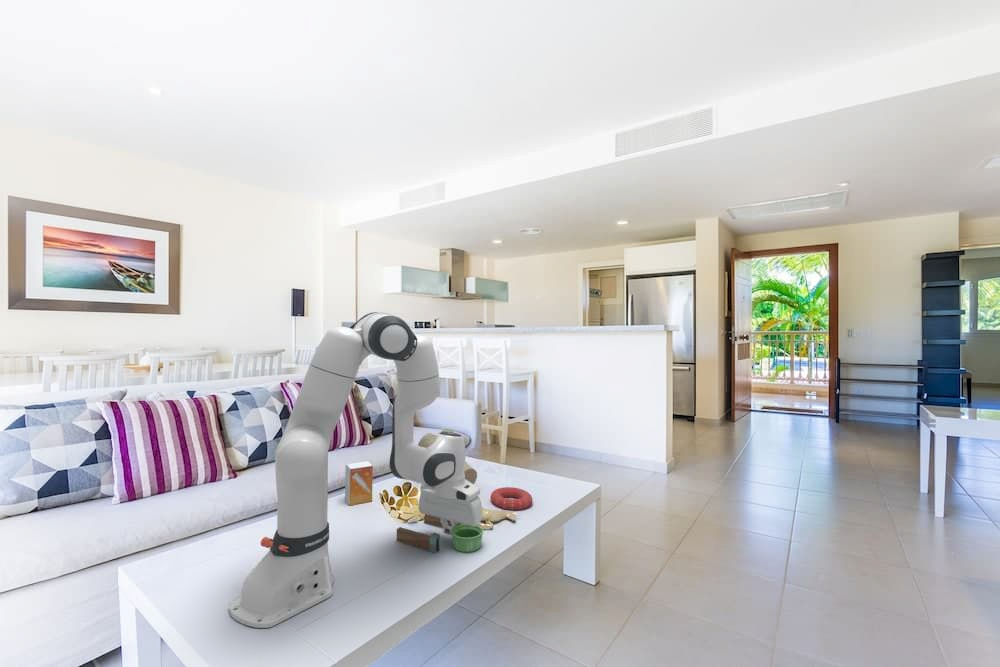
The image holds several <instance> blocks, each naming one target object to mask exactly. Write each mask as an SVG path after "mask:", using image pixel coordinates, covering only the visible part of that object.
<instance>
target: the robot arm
mask: <svg viewBox="0 0 1000 667" xmlns="http://www.w3.org/2000/svg"><path fill="white" fill-rule="evenodd" d="M370 355H373V356H375V357H379V358H381V359H385V360H392V361H393V362H394V364H395V368H396V378H397V391H396V392H397V393H396V395H395V396H394V398H393V402H392V410H391V411H392V413H391V414H392V416H391V418H392V422H391V424H392V425H391V427H392V428H391V431H392V432H391V433H392V434H391V436H392V438H391V441H392V442H391V449H390V450H391V451H390V456H389V469H390V471H391V472H390V473H392V475H393V476H394V477H395V478H397V479H401V480H407V481H411V482H414V483H416V484H420V492H419V494H420V495H419V498H418V499H419V500H418V511H419V513H420V514H422V515H424V514H426V515H430V516H434V517H438V518H440V522H441V524H442V526H443V528H442V529H443V534H446V535H449V536H452V529H453V528H454V527H456V525H457V523H461V524H465V525H469V526H473V527H474V526H476V525H477V524H479V523H481V522H482V521H481V520H482V508H483V507H482V506H483V505H482V500H481V499H480V498H481V497H479V495H480V493H481V489H480V487H479V486H477V485H475V483H474V484H472V483H470V482H469V481H467V480H466V479H465V473H464V465H465V461H466V444H465V439H464V436H463V435H462V434H460V433H457V432H454V431H453V432H454V433H453V432H441V431H440V432H441V433H440V432H438V434H437V435H436V436H437V439H436V441H435V442H434V443H433V444H432V445H431V446H429V447H428V448H424V447H421V446H418V444H417V443H416V441H415V440H414V439H415V438H414V426H415V424H414V423H415V422H414V421H415V420H414V418H415V417H414V416H415V414H416V412H417V411H419V410H422V409H424V408H426V407H429V406H430V405H432V404H433V403H434V402H435V401H436V399H437V397H439V394H440V389H441V381H440V373H439V366H438V361H437V355H436V352H435V349H434V345H433V343H432V340H431V339H430V338H428V337H427V336H425V335H421V334H415V333H414V331H413V330H412V329H411V327H410V326H409V324H408V323H407V322H406V321H405V320H403V319H402V318H401V317H399V316H396V315H393V314H391V313H388V312H379V311H377V312H375V311H374V312H373V311H372V312H369V313H367V314H365V315H363V316H362V317H360V318H359V319H358V320H357V321H356V322H354V324H352V325H351V326H349V327H348V326H334V327H332V328H329V330H327V332H326V333H325V334H324V336H323V338H322V339H321V341H320V342H319V344H318V346H317V348H316V350H315V353H314V354H313V356H312V359H311V361H310V363H309V365H308V368H307V371H306V374H305V375H304V379H303V381H302V384H301V387H300V388H299V392H298V394H297V397H296V399H295V402H294V405H293V408H292V410H291V413H290V415H289V419H288V420H287V424H286V426H285V428H284V430H283V434H282V436H281V438H280V441H279V442H278V445H277V447H276V448H275V453H274V463H275V464H274V466H275V469H274V470H275V483H276V484H275V485H276V486H275V487H276V496H277V518H276V520H277V521H276V522H277V526H276V527H277V529H276V530H275V533H274V535H273V538H269V537H267V536H264V537H263V538H261V540H260V546H261V547H263V548H267V549H269V551H268V552H267V553H266V554H265V555H264V556H263V558H262V559H261V560H260V561H259V562H258V563H257V565H256V566H255V567H254V568H253V569H252V570H251V572H250V573H249V574H248V575H246V576H245V579H244V581H243V583H242V584H243V585H242V589H241V595H240V596H239V597H237V598H236V599H235V600H234V601H232V602H231V603H229V606H228V612H229V613H228V614H229V615H230V616H231V618H233V619H234V620H235V621H237V622H239V623H241V624H243V625H244V626H245V625H246V626H248V627H252V628H258V629H269V628H271V627H274V626H276V625H278V624H280V623H281V622H283V621H286V620H288V619H289V618H292V617H293V616H295V615H296V616H297V614H299V613H301V612H304V611H305V610H307V609H309V608H311V607H314V606H315V605H317V604H319V603H321V602H323V601H325V600H326V599H328V598H331V597H332V596H333V584H334V581H335V577H334V575H333V572H332V567H331V562H330V553H329V544H328V543H329V540H330V522H329V521H328V512H329V510H328V508H329V505H328V501H329V497H328V496H329V495H328V494H329V490H328V489H329V488H328V487H329V480H328V479H329V476H328V474H329V473H328V472H329V471H328V470H329V466H328V465H329V445H330V442H331V439H332V436H333V434H334V433H335V432H334V431H335V428H336V426H337V424H338V423H339V420H340V418H341V416H342V414H343V411H344V410H345V407H346V404H347V402H348V399H349V396H350V394H351V391H352V388H353V386H354V382H355V380H356V378H357V375H358V373H359V369H360V366H361V365H362V363H363V362H364V360H365V359H366V358H367V357H368V356H370ZM447 520H449V521H450V524H452V526H449V525H448V522H447ZM477 526H478V525H477Z"/></svg>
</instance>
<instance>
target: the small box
mask: <svg viewBox="0 0 1000 667" xmlns="http://www.w3.org/2000/svg"><path fill="white" fill-rule="evenodd" d="M373 467H374V465H373V464H371V463H370V462H369V460H365V461H359V462H353V463H347V464H345V475H344V476H345V483H344V500H345V502H346V503H347V504H348V506H354V505H359V504H364V503H365V504H366V503H372V501H373V480H374V479H373V472H374V470H373V469H374V468H373Z"/></svg>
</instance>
